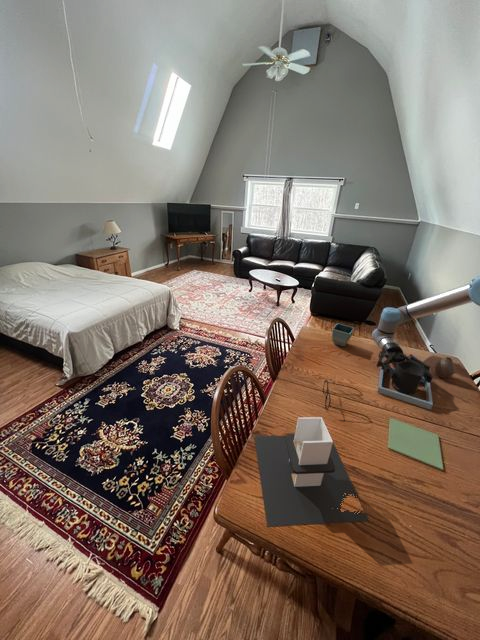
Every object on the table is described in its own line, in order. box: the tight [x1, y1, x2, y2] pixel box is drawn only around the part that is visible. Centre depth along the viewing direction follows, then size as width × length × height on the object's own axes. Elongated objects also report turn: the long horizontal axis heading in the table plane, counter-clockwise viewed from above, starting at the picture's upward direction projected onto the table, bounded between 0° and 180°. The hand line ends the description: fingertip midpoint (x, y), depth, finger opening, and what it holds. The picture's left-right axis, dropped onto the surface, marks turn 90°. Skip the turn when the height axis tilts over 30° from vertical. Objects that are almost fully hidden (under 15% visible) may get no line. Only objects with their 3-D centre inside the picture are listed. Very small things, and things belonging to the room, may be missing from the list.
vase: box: [433, 356, 456, 379], centre depth 115 cm, size 7×7×9 cm
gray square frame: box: [376, 366, 434, 410], centre depth 108 cm, size 18×18×2 cm
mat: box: [387, 417, 444, 471], centre depth 84 cm, size 14×14×1 cm
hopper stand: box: [253, 416, 370, 528], centre depth 70 cm, size 25×24×16 cm
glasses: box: [322, 379, 371, 421], centre depth 98 cm, size 14×15×5 cm
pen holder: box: [390, 360, 425, 395], centre depth 106 cm, size 9×9×10 cm
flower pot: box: [331, 323, 355, 347], centre depth 137 cm, size 9×9×9 cm
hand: (411, 378), depth 103 cm, fingers open, 13 cm apart
